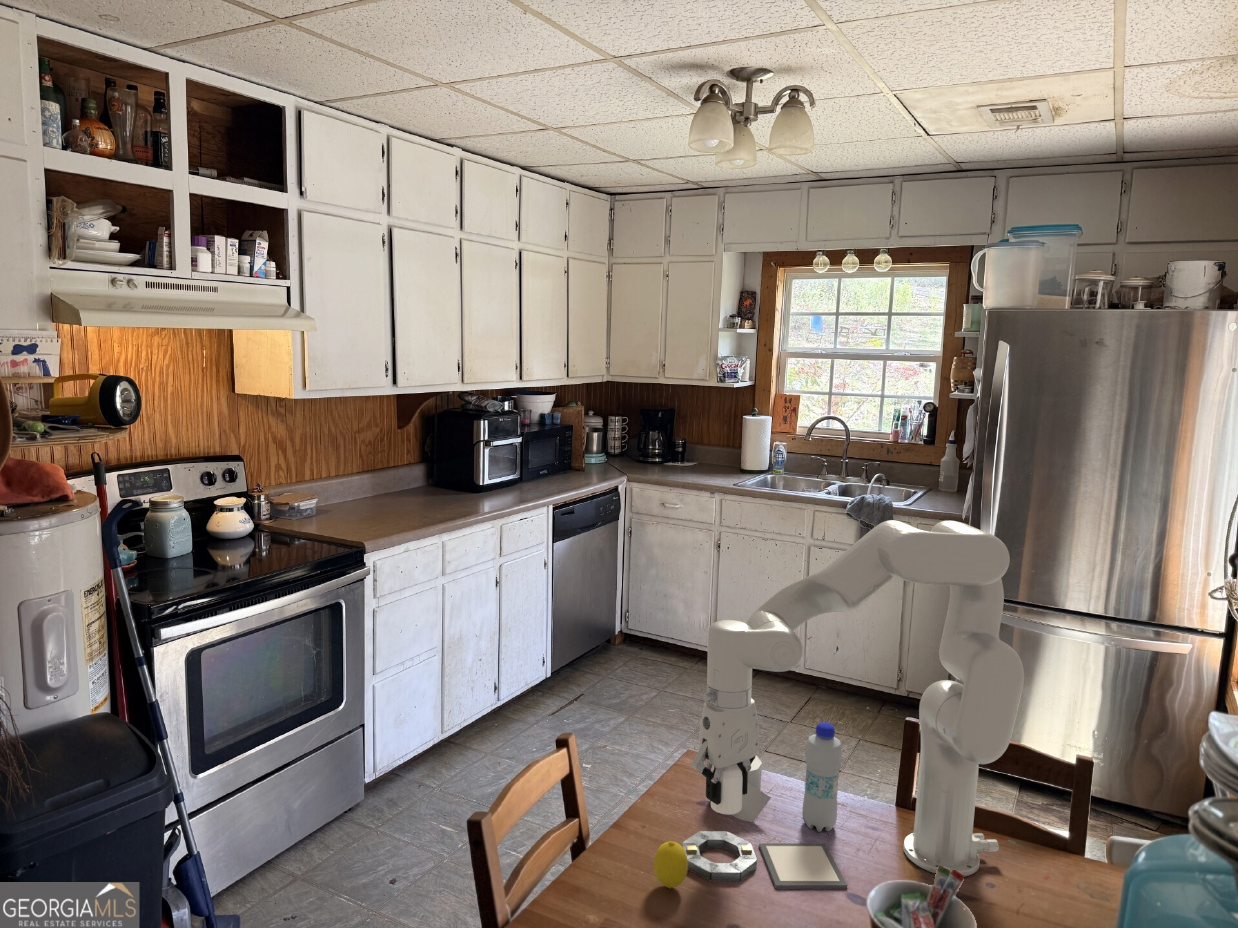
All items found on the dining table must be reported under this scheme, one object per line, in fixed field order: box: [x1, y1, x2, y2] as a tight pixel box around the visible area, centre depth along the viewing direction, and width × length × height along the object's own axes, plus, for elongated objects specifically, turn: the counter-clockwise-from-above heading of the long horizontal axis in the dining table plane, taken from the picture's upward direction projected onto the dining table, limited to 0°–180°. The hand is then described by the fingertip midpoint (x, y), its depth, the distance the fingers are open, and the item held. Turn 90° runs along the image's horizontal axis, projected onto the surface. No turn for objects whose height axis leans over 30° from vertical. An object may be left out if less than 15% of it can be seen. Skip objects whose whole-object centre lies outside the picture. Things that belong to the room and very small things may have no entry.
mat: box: [758, 842, 848, 890], centre depth 141 cm, size 12×12×1 cm
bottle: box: [801, 721, 843, 833], centre depth 153 cm, size 7×7×20 cm
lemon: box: [653, 840, 689, 889], centre depth 134 cm, size 6×6×8 cm
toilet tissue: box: [711, 755, 772, 823], centre depth 160 cm, size 9×13×9 cm
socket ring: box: [681, 830, 758, 883], centre depth 142 cm, size 12×12×2 cm
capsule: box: [710, 764, 743, 815], centre depth 141 cm, size 5×5×8 cm
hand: (726, 794), depth 141 cm, fingers closed on capsule, 5 cm apart
